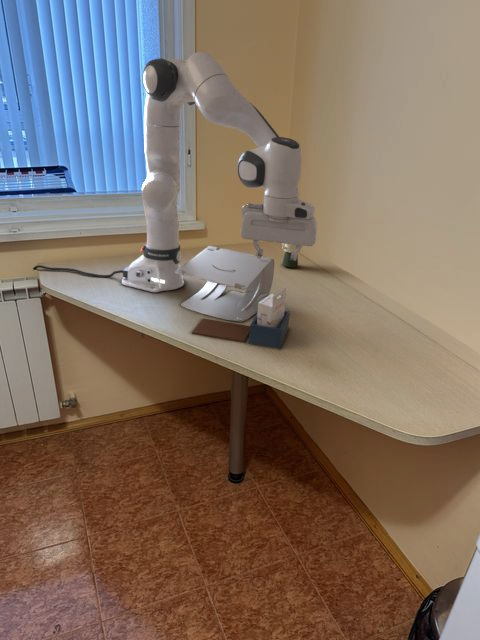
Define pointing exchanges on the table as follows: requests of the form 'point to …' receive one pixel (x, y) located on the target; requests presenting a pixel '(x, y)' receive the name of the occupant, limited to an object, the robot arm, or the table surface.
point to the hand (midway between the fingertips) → (276, 257)
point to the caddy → (268, 333)
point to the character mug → (289, 255)
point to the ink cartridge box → (272, 310)
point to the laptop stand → (228, 282)
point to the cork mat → (222, 330)
